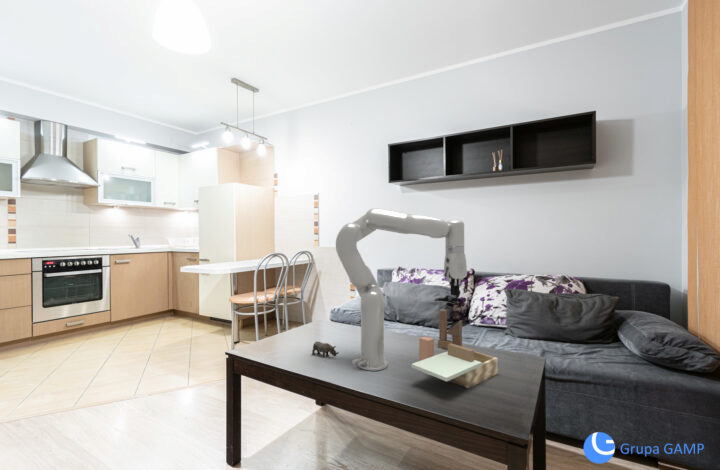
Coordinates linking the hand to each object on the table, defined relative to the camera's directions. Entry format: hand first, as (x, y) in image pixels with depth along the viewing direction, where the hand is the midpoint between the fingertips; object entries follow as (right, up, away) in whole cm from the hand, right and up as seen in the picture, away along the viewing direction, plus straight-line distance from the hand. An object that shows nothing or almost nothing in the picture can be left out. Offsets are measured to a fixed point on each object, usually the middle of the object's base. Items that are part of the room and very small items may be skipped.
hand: (455, 294), depth 134 cm
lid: (-8, -23, -17) cm, 29 cm away
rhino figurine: (-55, -30, +11) cm, 63 cm away
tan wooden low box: (+2, -29, -9) cm, 30 cm away
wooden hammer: (+4, -30, +21) cm, 36 cm away
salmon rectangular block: (-11, -29, +4) cm, 31 cm away
